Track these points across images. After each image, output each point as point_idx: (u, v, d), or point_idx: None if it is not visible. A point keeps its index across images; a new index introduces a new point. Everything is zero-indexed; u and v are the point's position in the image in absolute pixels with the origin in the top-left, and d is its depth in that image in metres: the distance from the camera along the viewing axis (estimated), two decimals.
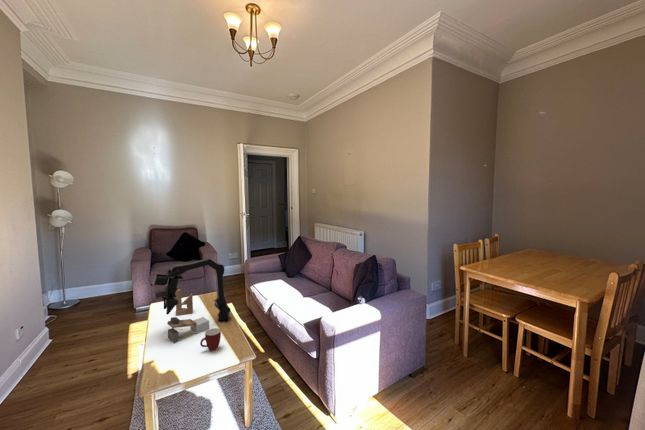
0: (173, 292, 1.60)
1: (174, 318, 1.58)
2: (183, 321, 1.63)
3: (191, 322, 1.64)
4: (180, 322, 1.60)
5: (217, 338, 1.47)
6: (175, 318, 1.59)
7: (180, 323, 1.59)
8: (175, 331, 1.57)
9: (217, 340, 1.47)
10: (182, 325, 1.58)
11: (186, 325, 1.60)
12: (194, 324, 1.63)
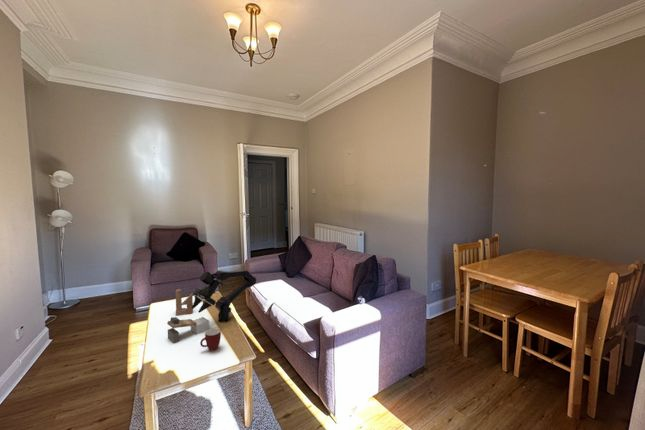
0: (211, 294, 1.72)
1: (174, 318, 1.58)
2: (183, 321, 1.63)
3: (191, 322, 1.64)
4: (180, 322, 1.60)
5: (217, 338, 1.47)
6: (175, 318, 1.59)
7: (180, 323, 1.59)
8: (175, 331, 1.57)
9: (217, 340, 1.47)
10: (182, 325, 1.58)
11: (186, 325, 1.60)
12: (194, 324, 1.63)
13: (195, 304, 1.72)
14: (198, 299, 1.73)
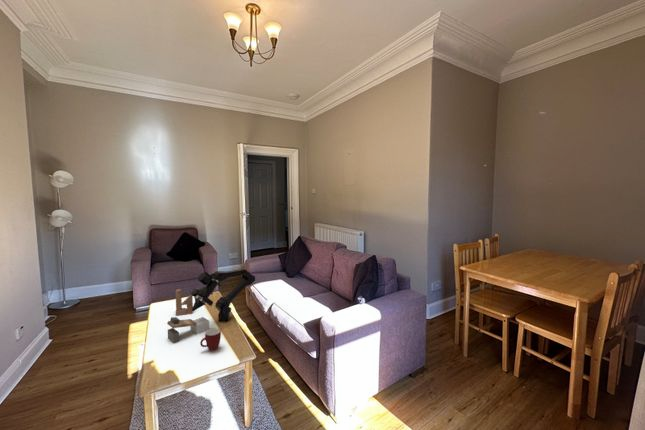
0: (208, 294, 1.71)
1: (174, 318, 1.58)
2: (183, 321, 1.63)
3: (191, 322, 1.64)
4: (180, 322, 1.60)
5: (217, 338, 1.47)
6: (175, 318, 1.59)
7: (180, 323, 1.59)
8: (175, 331, 1.57)
9: (217, 340, 1.47)
10: (182, 325, 1.58)
11: (186, 325, 1.60)
12: (194, 324, 1.63)
13: None
14: None
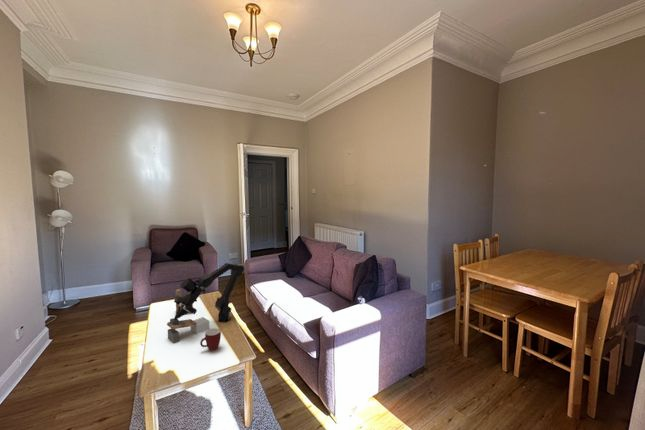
0: (192, 302, 1.63)
1: (174, 319, 1.58)
2: (183, 322, 1.63)
3: (191, 322, 1.64)
4: (180, 323, 1.60)
5: (217, 338, 1.47)
6: (174, 319, 1.58)
7: (180, 324, 1.59)
8: (175, 331, 1.57)
9: (217, 340, 1.47)
10: (182, 326, 1.58)
11: (186, 326, 1.60)
12: (194, 324, 1.63)
13: None
14: None
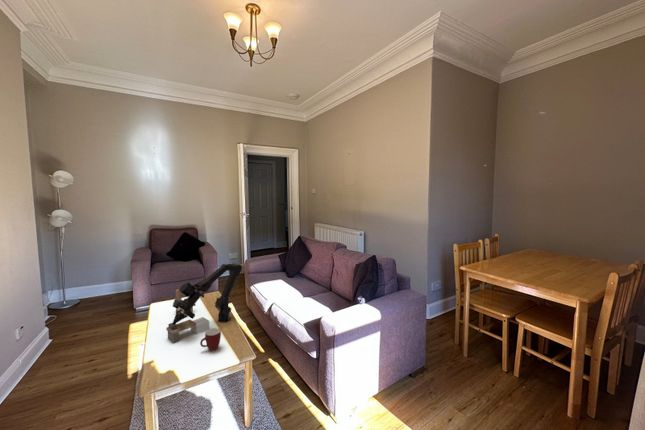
0: (191, 306, 1.62)
1: (172, 324, 1.57)
2: (182, 324, 1.63)
3: (190, 323, 1.63)
4: (179, 326, 1.60)
5: (217, 338, 1.47)
6: (173, 324, 1.58)
7: (179, 327, 1.59)
8: None
9: (217, 340, 1.47)
10: (181, 329, 1.58)
11: (185, 328, 1.59)
12: (194, 325, 1.63)
13: None
14: None
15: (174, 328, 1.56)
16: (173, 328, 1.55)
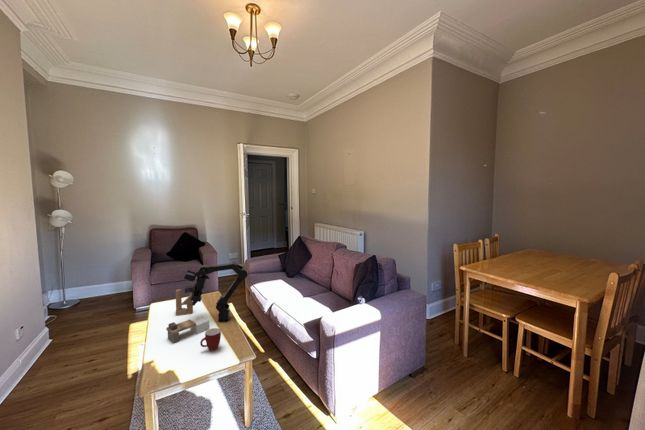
0: (199, 289, 1.77)
1: (172, 324, 1.57)
2: (182, 324, 1.63)
3: (190, 323, 1.63)
4: (179, 326, 1.60)
5: (217, 338, 1.47)
6: (173, 324, 1.58)
7: (179, 327, 1.59)
8: None
9: (217, 340, 1.47)
10: (181, 329, 1.58)
11: (185, 328, 1.59)
12: (194, 325, 1.63)
13: (194, 301, 1.79)
14: None
15: (174, 328, 1.56)
16: (173, 328, 1.55)
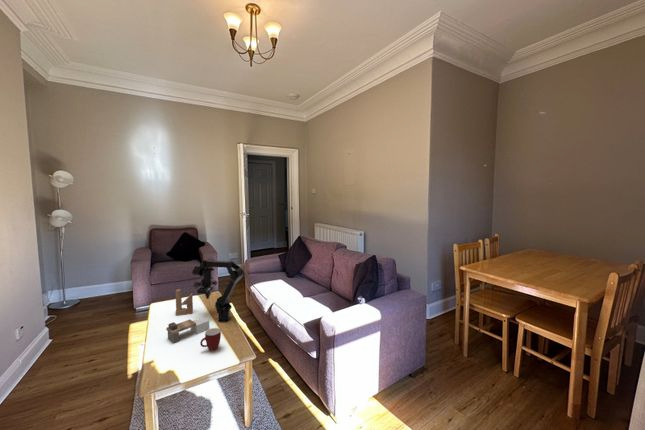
0: (206, 282, 1.83)
1: (172, 324, 1.57)
2: (182, 324, 1.63)
3: (190, 323, 1.63)
4: (179, 326, 1.60)
5: (217, 338, 1.47)
6: (173, 324, 1.58)
7: (179, 327, 1.59)
8: None
9: (217, 340, 1.47)
10: (181, 329, 1.58)
11: (185, 328, 1.59)
12: (194, 325, 1.63)
13: None
14: None
15: (174, 328, 1.56)
16: (173, 328, 1.55)
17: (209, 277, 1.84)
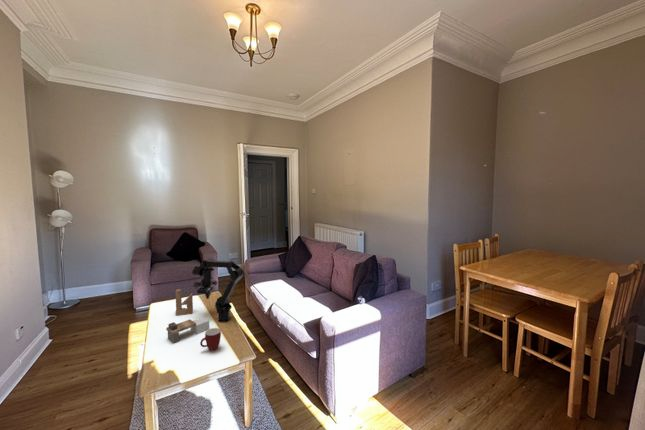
0: (206, 282, 1.83)
1: (172, 324, 1.57)
2: (182, 324, 1.63)
3: (190, 323, 1.63)
4: (179, 326, 1.60)
5: (217, 338, 1.47)
6: (173, 324, 1.58)
7: (179, 327, 1.59)
8: None
9: (217, 340, 1.47)
10: (181, 329, 1.58)
11: (185, 328, 1.59)
12: (194, 325, 1.63)
13: None
14: None
15: (174, 328, 1.56)
16: (173, 328, 1.55)
17: (209, 277, 1.84)
